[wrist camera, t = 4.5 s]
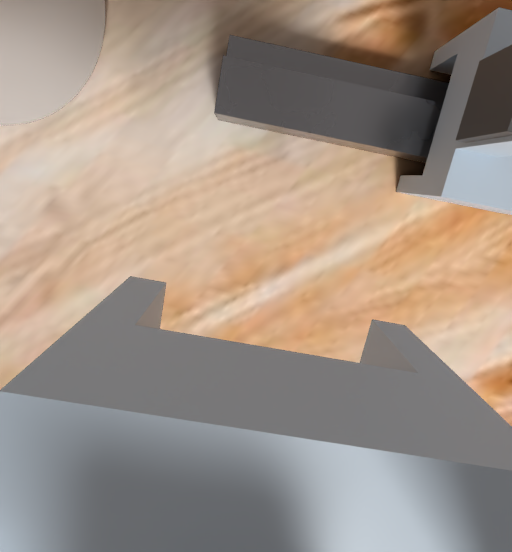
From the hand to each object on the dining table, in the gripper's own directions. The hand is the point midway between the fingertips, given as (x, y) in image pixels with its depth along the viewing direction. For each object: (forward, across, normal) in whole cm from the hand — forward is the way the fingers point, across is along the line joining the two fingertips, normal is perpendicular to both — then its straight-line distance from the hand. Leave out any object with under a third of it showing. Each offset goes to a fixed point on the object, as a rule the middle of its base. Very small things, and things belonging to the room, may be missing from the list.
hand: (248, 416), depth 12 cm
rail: (+14, +6, +11) cm, 19 cm away
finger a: (+14, +11, +11) cm, 21 cm away
